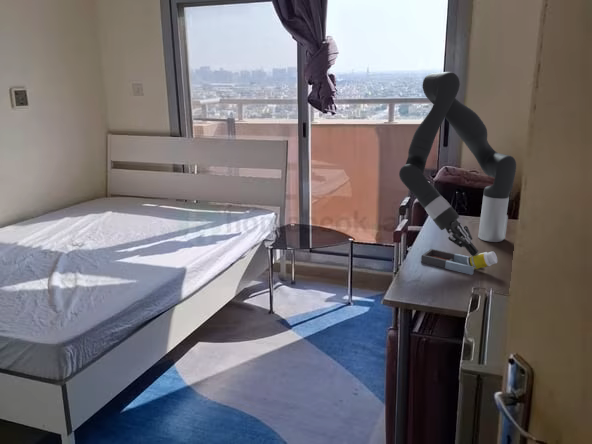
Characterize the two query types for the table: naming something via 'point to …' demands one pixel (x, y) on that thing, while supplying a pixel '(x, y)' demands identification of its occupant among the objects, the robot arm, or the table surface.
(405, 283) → the table surface
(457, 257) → the trough
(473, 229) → the table surface
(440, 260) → the trap bin
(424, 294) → the table surface
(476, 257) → the supplement bottle
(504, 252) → the table surface
